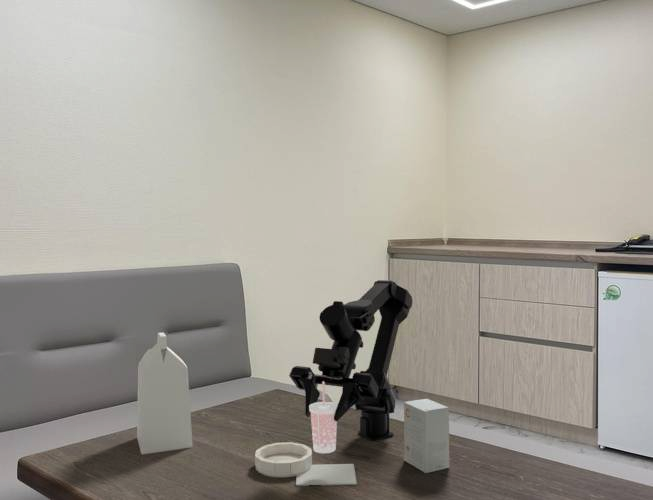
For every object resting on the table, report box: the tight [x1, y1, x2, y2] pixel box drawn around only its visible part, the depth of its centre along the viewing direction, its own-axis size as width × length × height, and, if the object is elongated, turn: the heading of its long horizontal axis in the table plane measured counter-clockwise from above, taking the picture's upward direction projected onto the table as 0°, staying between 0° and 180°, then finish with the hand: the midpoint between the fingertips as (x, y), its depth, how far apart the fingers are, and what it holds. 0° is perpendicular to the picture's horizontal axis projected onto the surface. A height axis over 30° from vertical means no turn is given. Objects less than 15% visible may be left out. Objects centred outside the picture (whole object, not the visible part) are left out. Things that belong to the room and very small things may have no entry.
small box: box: [403, 398, 450, 474], centre depth 130 cm, size 8×6×13 cm
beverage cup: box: [309, 381, 338, 454], centre depth 125 cm, size 6×6×14 cm
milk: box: [136, 332, 193, 455], centre depth 145 cm, size 12×12×26 cm
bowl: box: [254, 441, 313, 479], centre depth 130 cm, size 12×12×3 cm
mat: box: [295, 463, 358, 487], centre depth 125 cm, size 12×10×1 cm
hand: (320, 418), depth 123 cm, fingers closed on beverage cup, 6 cm apart
